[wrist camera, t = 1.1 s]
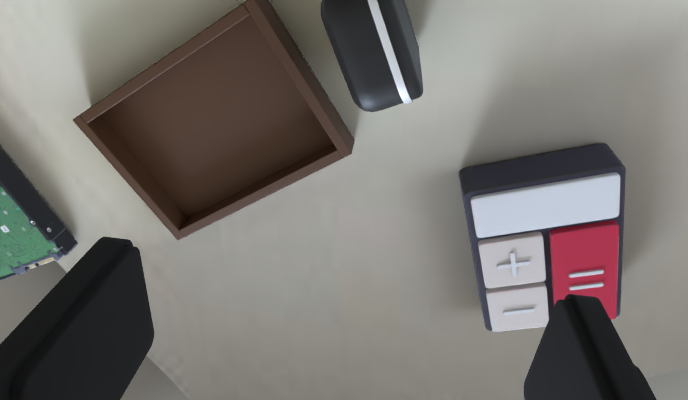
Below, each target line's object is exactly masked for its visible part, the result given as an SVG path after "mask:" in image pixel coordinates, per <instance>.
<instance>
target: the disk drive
mask: <svg viewBox="0 0 688 400" xmlns="http://www.w3.org/2000/svg"><path fill="white" fill-rule="evenodd" d="M77 244H78V242H77V241H76V240H75V239H74V236H73V234H72V233H71V232H70V231H69V230H68V228H67V227H66V226H65V225H64V223H63V222H62V221H61V220H60V219H59V217H58V216H57V215H56V214H55V212H54V211H53V210H52V209H51V208H50V206H49V205H48V204H47V202H46V201H45V200H44V199H43V198H42V196H41V195H40V194H39V193H38V192H37V190H36V189H35V188H34V187H33V186H32V185H31V183H30V182H29V181H28V180H27V178H26V177H25V176H24V175H23V173H22V172H21V171H20V170H19V169H18V167H17V166H16V165H15V164H14V162H13V161H12V160H11V159H10V157H9V156H8V155H7V154H6V153H5V151H4V150H3V149H2V148H1V147H0V280H3V279H6V278H9V277H12V276H14V275H16V274H17V275H19V274H22V273H24V272H27V270H29V269H30V268H31V269H32V268H35V267H38V265H39V266H41V265H43V264H46V263H49V262H51V261H55V260H57V261H58V260H59V259H60V258H61V257H62V256H65V255H67V254H69V253H70V252H71V251H72V249H73V248H74V247H75V246H76V245H77Z"/></svg>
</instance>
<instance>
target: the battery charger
mask: <svg viewBox="0 0 688 400" xmlns="http://www.w3.org/2000/svg"><path fill="white" fill-rule="evenodd" d="M321 17H322V20H323V23H324V26H325V29H326V31H327V34H328V37H329V39H330V42H331V44H332V47H333V50H334V52H335V55H336V57H337V60H338V63H339V65H340V68H341V70H342V73H343V75H344V78H345V80H346V83H347V86H348V88H349V91H350V93H351V96H352V98H353V100H354V102H355V103H356V104H357V106H358V107H359V108H361V109H363V110H364V111H369V112H375V111H380V110H383V109H386V108H389V107H392V106H395V105H398V104H401V103H404V104H407V103H410V102H412V101H413V100H414V99H417V98H419V97H420V96H421V95H422V93H423V83H422V73H421V65H420V57H419V46H418V43H417V40H416V36H415V33H414V30H413V27H412V23H411V20H410V17H409V14H408V10H407V7H406V4H405V0H322V2H321Z"/></svg>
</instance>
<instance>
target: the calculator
mask: <svg viewBox="0 0 688 400" xmlns="http://www.w3.org/2000/svg"><path fill="white" fill-rule="evenodd" d="M459 178H460V184H461V189H462V195H463V201H464V207H465V213H466V218H467V224H468V230H469V236H470V242H471V248H472V254H473V260H474V266H475V271H476V277H477V283H478V289H479V295H480V301H481V307H482V312H483V317H484V322H485V327H486V329H487V330H489V331H494V332H499V331H508V330H517V329H526V328H536V327H544V326H547V324H548V321H549V318H550V316H551V313H552V311H553V308H554V306H555V304H556V302H557V301H558V300H560V299H561V300H564V299H565V297H566V296H567V295H568V294H576V295H584V296H592V297H597V298H599V300H600V301H601V303H602V305H603V306H604V308H605V310H606V312H607V314H608V316H609V318H610V319H615V318H616V317H617V316H619V314H620V302H621V276H622V250H623V223H624V197H625V167H624V165H623V164H622V163H621V161H620V160H619V159H618V158H617V156H616V155H615V154H614V153H613V151H612V150H611V149H610V148H609V146H608V145H607V144H605V143H600V144H595V145H589V146H584V147H578V148H573V149H567V150H562V151H557V152H551V153H546V154H540V155H535V156H529V157H524V158H518V159H513V160H507V161H502V162H497V163H491V164H486V165H480V166H475V167H469V168H465V169H462V170H461V171H460V172H459Z"/></svg>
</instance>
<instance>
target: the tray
mask: <svg viewBox="0 0 688 400" xmlns="http://www.w3.org/2000/svg"><path fill="white" fill-rule="evenodd" d="M73 121H74V122H75V123H76V124H77V126H78V127H79V128H80V129H81V130H82V131H83V132H84V134H85V135H86V136H87V137H88V138H89V139H90V140H91V142H92V143H93V144H94V145H95V146H96V147H97V148H98V150H99V151H100V152H101V153H102V154H103V155H104V156H105V158H106V159H107V160H108V161H109V162H110V163H111V164H112V166H113V167H114V168H115V169H116V170H117V171H118V172H119V174H120V175H121V176H122V177H123V178H124V179H125V180H126V182H127V183H128V184H129V185H130V186H131V187H132V188H133V190H134V191H135V192H136V193H137V194H138V195H139V196H140V198H141V199H142V200H143V201H144V202H145V203H146V204H147V206H148V207H149V208H150V209H151V210H152V211H153V212H154V214H155V215H156V216H157V217H158V218H159V219H160V220H161V222H162V223H163V224H164V225H165V226H166V227H167V228H168V230H169V231H170V232H171V233H172V234H173V235H174V236H175V238H176V239H177V240H180V239H182V238H184V237H186V236H188V235H190V234H192V233H194V232H196V231H198V230H200V229H202V228H204V227H206V226H208V225H210V224H212V223H214V222H216V221H218V220H220V219H222V218H224V217H226V216H228V215H230V214H232V213H234V212H236V211H238V210H240V209H242V208H244V207H246V206H248V205H250V204H252V203H254V202H256V201H258V200H260V199H262V198H264V197H266V196H268V195H270V194H272V193H274V192H276V191H278V190H280V189H282V188H284V187H286V186H288V185H290V184H292V183H294V182H296V181H298V180H300V179H302V178H304V177H306V176H308V175H310V174H312V173H314V172H316V171H318V170H320V169H322V168H324V167H326V166H328V165H330V164H332V163H334V162H336V161H338V160H340V159H342V158H344V157H346V156H348V155H350V154H352V149H353V145H354V141H355V140H354V138H353V137H352V135H351V133H350V132H349V130H348V128H347V127H346V125H345V124H344V122H343V120H342V119H341V117H340V115H339V114H338V112H337V111H336V109H335V107H334V106H333V104H332V102H331V101H330V99H329V98H328V96H327V94H326V93H325V91H324V89H323V88H322V86H321V85H320V83H319V81H318V80H317V78H316V76H315V75H314V73H313V72H312V70H311V68H310V67H309V65H308V63H307V62H306V60H305V59H304V57H303V55H302V54H301V52H300V50H299V49H298V47H297V46H296V44H295V42H294V41H293V39H292V37H291V36H290V34H289V33H288V31H287V29H286V28H285V26H284V24H283V23H282V21H281V20H280V18H279V16H278V15H277V13H276V12H275V10H274V8H273V7H272V5H271V3H270V2H269V0H247V1H246V2H244V3H243V4H241V5H240V6H238V7H237V8H235V9H234V10H232V11H231V12H229V13H228V14H227V15H225V16H224V17H222V18H221V19H219V20H218V21H216V22H215V23H213V24H212V25H210V26H209V27H208V28H206V29H205V30H203V31H202V32H200V33H199V34H197V35H196V36H194V37H193V38H191V39H190V40H189V41H187V42H186V43H184V44H183V45H181V46H180V47H178V48H177V49H175V50H174V51H172V52H171V53H170V54H168V55H167V56H165V57H164V58H162V59H161V60H159V61H158V62H156V63H155V64H153V65H152V66H150V67H149V68H148V69H146V70H145V71H143V72H142V73H140V74H139V75H137V76H136V77H134V78H133V79H131V80H130V81H129V82H127V83H126V84H124V85H123V86H121V87H120V88H118V89H117V90H115V91H114V92H112V93H111V94H110V95H108V96H107V97H105V98H104V99H102V100H101V101H99V102H98V103H96V104H95V105H93V106H92V107H91V108H89V109H88V110H86V111H85V112H83V113H82V114H80V115H79V116H77V117H76V118H74V119H73Z"/></svg>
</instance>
